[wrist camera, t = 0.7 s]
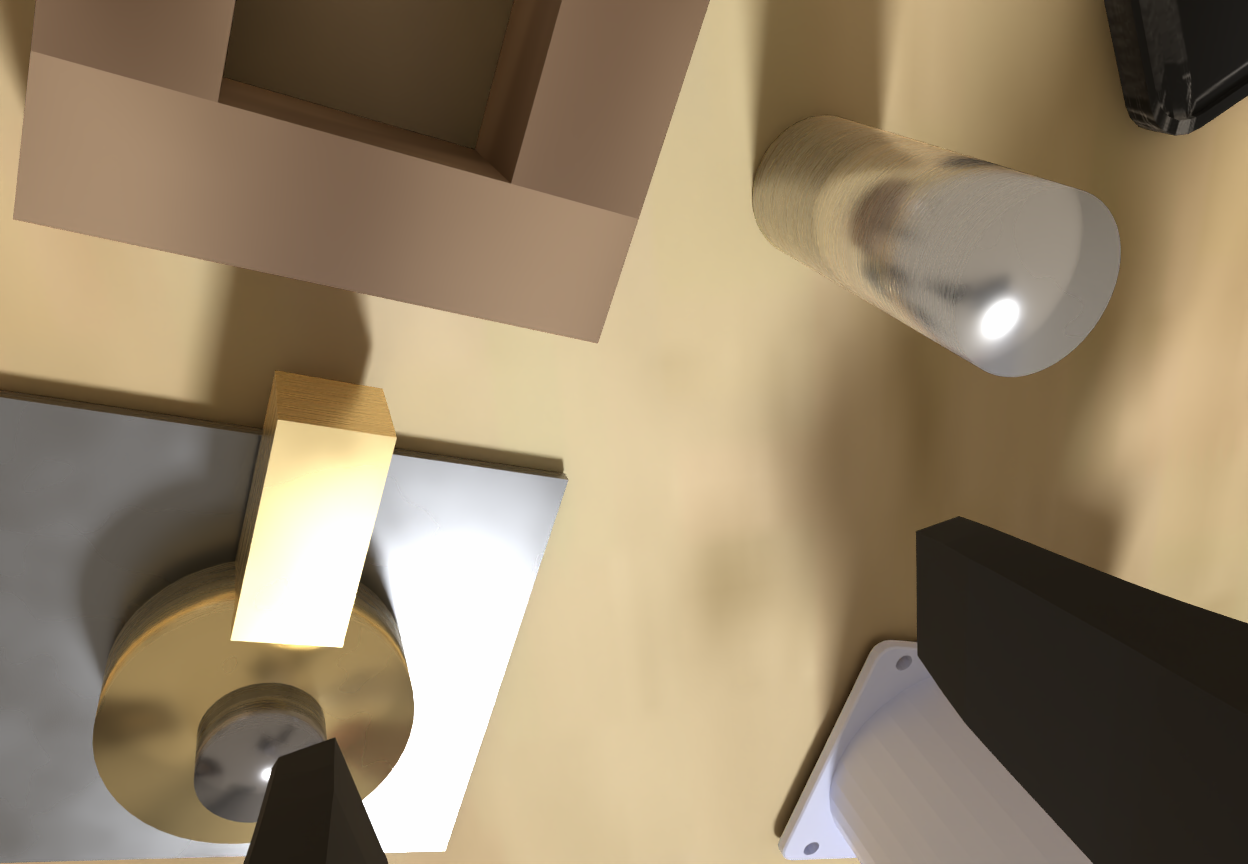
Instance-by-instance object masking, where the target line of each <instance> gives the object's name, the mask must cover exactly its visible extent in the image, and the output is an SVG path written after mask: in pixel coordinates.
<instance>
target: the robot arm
mask: <svg viewBox="0 0 1248 864" xmlns="http://www.w3.org/2000/svg"><path fill="white" fill-rule="evenodd" d="M916 562H917V642H910V641H898V640H885V641H882V642H880V643H878V644H877V645H876V646H874V647H873V649H872V650H871V652H870V653H869V655H868V658H867V660H866V662H865V664H864V666H863V668H862V670H861V672H860V674H859V676H858V678H857V680H856V682H855V684H854V687H853V689H852V691H851V693H850V695H849V697H848V699H847V701H846V703H845V705H844V707H843V709H842V711H841V713H840V716H839V718H838V720H837V722H836V724H835V726H834V728H833V730H832V732H831V734H830V736H829V738H828V740H827V742H826V745H825V747H824V749H823V751H822V753H821V755H820V757H819V759H818V761H817V763H816V765H815V767H814V769H813V771H812V774H811V776H810V778H809V780H808V782H807V784H806V786H805V788H804V790H803V792H802V794H801V796H800V798H799V800H798V803H797V805H796V807H795V809H794V811H793V813H792V815H791V817H790V819H789V821H788V823H787V825H786V827H785V829H784V832H783V834H782V836H781V838H780V840H779V843H778V847H779V850H780V851H781V853H782V855H783V857H784V858H786V859H788V860H807V859H834V858H858V860H859V861H860V863H861V864H1248V623H1245V622H1242V621H1239V620H1236V619H1233V618H1230V617H1227V616H1224V615H1221V614H1218V613H1215V612H1212V611H1209V610H1206V609H1203V608H1200V607H1197V606H1194V605H1191V604H1188V603H1185V602H1182V601H1179V600H1176V599H1174V598H1171V597H1168V596H1165V595H1162V594H1160V593H1157V592H1154V591H1151V590H1149V589H1146V588H1143V587H1141V586H1138V585H1135V584H1132V583H1130V582H1127V581H1125V580H1122V579H1119V578H1117V577H1114V576H1112V575H1109V574H1106V573H1104V572H1101V571H1099V570H1096V569H1094V568H1091V567H1088V566H1086V565H1083V564H1081V563H1078V562H1076V561H1073V560H1071V559H1068V558H1066V557H1063V556H1061V555H1058V554H1056V553H1053V552H1051V551H1048V550H1046V549H1043V548H1041V547H1038V546H1036V545H1033V544H1031V543H1028V542H1026V541H1023V540H1021V539H1018V538H1016V537H1013V536H1011V535H1008V534H1006V533H1003V532H1001V531H998V530H995V529H993V528H990V527H988V526H985V525H982V524H980V523H977V522H974V521H971V520H968V519H965V518H963V517H960V516H958V517H956V518H953V519H950V520H947V521H944V522H941V523H939V524H936V525H933V526H930V527H927V528H924V529H922V530H919V531H916ZM900 658H901V659H900ZM244 864H388V861H387V858H386V855H385V853H384V851H383V848H382V846H381V844H380V841H379V839H378V837H377V834H376V832H375V830H374V827H373V825H372V823H371V820H370V818H369V815H368V813H367V811H366V808H365V806H364V804H363V801H362V799H361V797H360V794H359V792H358V790H357V787H356V785H355V783H354V780H353V778H352V775H351V773H350V771H349V768H348V766H347V764H346V761H345V759H344V757H343V754H342V752H341V750H340V747H339V745H338V743H337V740H336V738H335V737H334V738H331V739H328V740H326V741H323V742H320V743H317V744H314V745H311V746H309V747H306V748H303V749H300V750H297V751H295V752H292V753H289V754H286V755H283V756H280V757H278V759H277V761H276V762H275V764H274V765H273V767H272V768H271V772H270V776H269V780H268V784H267V788H266V791H265V795H264V798H263V802H262V805H261V809H260V813H259V816H258V819H257V823H256V826H255V829H254V832H253V836H252V839H251V842H250V845H249V848H248V851H247V854H246V858H245V861H244Z"/></svg>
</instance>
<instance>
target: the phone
mask: <svg viewBox="0 0 1248 864" xmlns="http://www.w3.org/2000/svg"><path fill="white" fill-rule="evenodd" d="M1104 3H1105V8H1106V12H1107V17H1108V22H1109V27H1110V32H1111V37H1112V42H1113V47H1114V51H1115V56H1116V61H1117V66H1118V71H1119V76H1120V81H1121V86H1122V91H1123V95H1124V100H1125V105H1126V108H1127V111H1128V113H1129V116H1130V118H1131V119H1132V120H1133V121H1134V122H1135V123H1136V124H1137V125H1138V126H1139V127H1142V128H1145V129H1148V130H1152V131H1156V132H1161V133H1166V134H1171V135H1184V134H1189V133H1191V132H1193V131H1195V130H1197V129H1199V128H1201V127H1202V126H1204V125H1205V124H1207V123H1208V122H1210V121H1211V120H1213V119H1214V118H1216V117H1217V116H1219V115H1220V114H1221V113H1223V112H1224V111H1226V110H1227V109H1229V108H1230V107H1232V106H1233V105H1235V104H1236V103H1238V102H1239V101H1241V100H1242V99H1244V98H1245V97H1246V96H1248V0H1104Z"/></svg>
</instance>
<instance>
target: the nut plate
mask: <svg viewBox="0 0 1248 864" xmlns="http://www.w3.org/2000/svg"><path fill="white" fill-rule="evenodd" d="M262 431H263V429H260V428H253V427H247V426H240V425H233V424H226V423H220V422H213V421H206V420H199V419H193V418H186V417H179V416H172V415H166V414H159V413H152V412H145V411H139V410H132V409H125V408H118V407H112V406H105V405H98V404H91V403H85V402H78V401H71V400H64V399H58V398H51V397H44V396H37V395H31V394H24V393H17V392H10V391H4V390H0V863H14V862H51V861H87V860H124V859H161V858H198V857H234V856H246V854H247V851H248V848H249V845H250V843H243V844H216V843H208V842H200V841H194V840H190V839H185V838H181V837H177V836H174V835H171V834H168V833H165V832H163V831H160V830H158V829H156V828H154V827H152V826H150V825H148V824H146V823H144V822H142V821H141V820H139V819H138V818H136V817H135V816H133V815H132V814H130V813H129V812H128V811H127V810H126V809H125V808H123V807H122V806H121V805H120V804H119V803H118V802H117V801H116V800H115V798H114V797H113V796H112V795H111V793H110V792H109V791H108V790H107V788H106V786H105V784H104V783H103V781H102V779H101V777H100V775H99V772H98V769H97V766H96V763H95V760H94V753H93V744H92V742H93V728H94V722H95V717H96V712H97V707H98V702H99V698H100V693H101V688H102V683H103V678H104V673H105V668H106V664H107V660H108V656H109V653H110V651H111V648H112V646H113V644H114V642H115V639H116V637H117V636H118V634H119V633H120V631H121V630H122V628H123V627H124V625H125V623H126V622H127V621H128V620H129V619H130V618H131V616H132V615H133V614H134V613H135V612H136V611H137V610H138V609H139V608H140V607H141V606H142V605H143V604H144V603H145V602H146V601H148V600H149V599H150V598H151V597H152V596H154V595H155V594H156V593H158V592H159V591H161V590H162V589H164V588H165V587H167V586H168V585H170V584H172V583H174V582H175V581H177V580H179V579H181V578H183V577H185V576H187V575H189V574H192V573H194V572H197V571H199V570H202V569H204V568H207V567H210V566H214V565H218V564H221V563H225V562H229V561H235V560H236V556H237V551H238V546H239V541H240V536H241V532H242V527H243V522H244V517H245V512H246V508H247V503H248V498H249V493H250V489H251V484H252V479H253V474H254V469H255V465H256V460H257V455H258V450H259V445H260V441H261V436H262ZM567 482H568V478H567V477H566V475H565V474H564V473H557V472H551V471H544V470H537V469H530V468H524V467H517V466H510V465H503V464H497V463H490V462H483V461H476V460H470V459H463V458H456V457H449V456H443V455H436V454H429V453H422V452H416V451H409V450H402V449H395V448H394V450H393V454H392V458H391V462H390V466H389V469H388V473H387V477H386V481H385V485H384V489H383V492H382V496H381V500H380V504H379V508H378V512H377V515H376V519H375V523H374V527H373V531H372V535H371V538H370V542H369V546H368V550H367V554H366V558H365V561H364V565H363V569H362V573H361V577H360V582H361V583H362V584H363V585H365V586H366V587H367V588H369V589H370V590H371V591H373V592H374V593H375V594H376V595H377V596H378V598H379V599H380V600H381V601H382V602H383V603H384V604H385V606H386V607H387V608H388V610H389V611H390V612H391V614H392V616H393V618H394V620H395V622H396V624H397V626H398V628H399V631H400V635H401V638H402V642H403V646H404V651H405V656H406V660H407V665H408V670H409V674H410V679H411V684H412V688H413V695H414V703H415V711H414V722H413V727H412V732H411V736H410V738H409V741H408V743H407V746H406V749H405V751H404V752H403V754H402V756H401V758H400V760H399V761H398V763H397V765H396V766H395V767H394V769H393V770H392V771H391V773H390V774H389V775H388V777H387V778H386V779H385V780H384V781H383V782H382V783H381V784H380V785H379V786H378V787H377V788H376V789H375V790H374V791H373V792H372V793H371V794H370V795H368V796H367V797H366V798H365V799H364V800H363V804H364V806H365V808H366V811H367V813H368V815H369V818H370V820H371V823H372V825H373V827H374V830H375V832H376V834H377V837H378V839H379V841H380V844H381V846H382V848H383V851H384V852H418V851H445V849H446V846H447V843H448V840H449V837H450V834H451V831H452V828H453V825H454V822H455V819H456V816H457V813H458V810H459V807H460V804H461V801H462V798H463V795H464V792H465V789H466V786H467V783H468V780H469V777H470V774H471V771H472V768H473V765H474V762H475V759H476V756H477V753H478V750H479V747H480V744H481V741H482V738H483V735H484V732H485V729H486V726H487V723H488V720H489V717H490V714H491V711H492V708H493V705H494V702H495V699H496V696H497V693H498V690H499V687H500V684H501V681H502V678H503V675H504V672H505V669H506V666H507V663H508V660H509V657H510V654H511V651H512V648H513V645H514V642H515V639H516V636H517V633H518V630H519V627H520V624H521V621H522V618H523V615H524V612H525V609H526V606H527V603H528V600H529V597H530V594H531V591H532V588H533V585H534V582H535V579H536V576H537V573H538V570H539V567H540V564H541V561H542V558H543V555H544V552H545V549H546V546H547V543H548V540H549V536H550V533H551V530H552V527H553V524H554V521H555V518H556V515H557V512H558V509H559V506H560V503H561V500H562V497H563V494H564V491H565V488H566V485H567Z"/></svg>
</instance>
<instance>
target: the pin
mask: <svg viewBox="0 0 1248 864" xmlns="http://www.w3.org/2000/svg"><path fill="white" fill-rule="evenodd" d="M752 200H753V210H754V216H755V219H756V222H757V224H758V227H759V229H760V231H761V232H762V234H763V235H764V237H765V238H766V239H767V240H768V241H769V242H770V244H772V245H773V246H774V247H776V248H777V249H778V250H780V251H782V252H784V253H785V254H787V255H789V256H790V257H792V258H794V259H795V260H797V261H799V262H801V263H802V264H804V265H806V266H807V267H809V268H811V269H812V270H814V271H816V272H818V273H819V274H821V275H823V276H824V277H826V278H828V279H829V280H831V281H833V282H834V283H836V284H838V285H840V286H841V287H843V288H845V289H846V290H848V291H850V292H851V293H853V294H855V295H857V296H858V297H860V298H862V299H863V300H865V301H867V302H868V303H870V304H872V305H874V306H875V307H877V308H879V309H880V310H882V311H884V312H885V313H887V314H889V315H891V316H892V317H894V318H896V319H897V320H899V321H901V322H902V323H904V324H906V325H907V326H909V327H911V328H913V329H914V330H916V331H918V332H919V333H921V334H923V335H924V336H926V337H928V338H930V339H931V340H933V341H935V342H936V343H938V344H940V345H941V346H943V347H945V348H947V349H948V350H950V351H952V352H953V353H955V354H957V355H958V356H960V357H962V358H963V359H965V360H967V361H969V362H970V363H972V364H974V365H975V366H977V367H979V368H980V369H982V370H984V371H986V372H988V373H991V374H994V375H997V376H1003V377H1019V376H1026V375H1029V374H1033V373H1036V372H1039V371H1041V370H1043V369H1046V368H1048V367H1050V366H1051V365H1053V364H1055V363H1057V362H1058V361H1060V360H1061V359H1063V358H1064V357H1065V356H1067V355H1068V354H1069V353H1070V352H1071V351H1073V350H1074V349H1075V348H1076V347H1077V346H1078V345H1079V344H1080V343H1081V342H1082V341H1083V340H1084V339H1085V338H1086V337H1087V335H1088V334H1089V333H1090V332H1091V331H1092V329H1093V328H1094V327H1095V325H1096V324H1097V322H1098V321H1099V319H1100V318H1101V316H1102V314H1103V312H1104V311H1105V309H1106V307H1107V305H1108V303H1109V300H1110V298H1111V296H1112V293H1113V291H1114V288H1115V285H1116V281H1117V277H1118V273H1119V267H1120V260H1121V245H1120V236H1119V232H1118V228H1117V225H1116V222H1115V220H1114V217H1113V216H1112V214H1111V212H1110V211H1109V209H1108V208H1107V207H1106V206H1105V205H1104V203H1103V202H1102V201H1101V200H1099V199H1098V198H1097V197H1095V196H1094V195H1092V194H1090V193H1088V192H1086V191H1083V190H1079V189H1076V188H1073V187H1069V186H1066V185H1063V184H1060V183H1056V182H1053V181H1050V180H1046V179H1043V178H1040V177H1036V176H1033V175H1030V174H1026V173H1023V172H1020V171H1016V170H1013V169H1010V168H1007V167H1003V166H1000V165H997V164H993V163H990V162H987V161H983V160H980V159H977V158H973V157H970V156H967V155H963V154H960V153H957V152H954V151H950V150H947V149H944V148H940V147H937V146H934V145H930V144H927V143H924V142H920V141H917V140H914V139H910V138H907V137H904V136H901V135H897V134H894V133H891V132H887V131H884V130H881V129H877V128H874V127H871V126H867V125H864V124H861V123H858V122H854V121H851V120H848V119H844V118H841V117H837V116H830V115H822V116H815V117H810V118H807V119H804V120H802V121H800V122H798V123H796V124H794V125H792V126H791V127H789V128H788V129H786V130H785V131H784V132H783V133H782V134H781V135H780V136H778V138H777V139H776V140H775V141H774V142H773V143H772V144H771V146H770V147H769V149H768V150H767V151H766V153H765V155H764V157H763V158H762V160H761V162H760V165H759V167H758V169H757V173H756V176H755V180H754V185H753V196H752Z"/></svg>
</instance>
